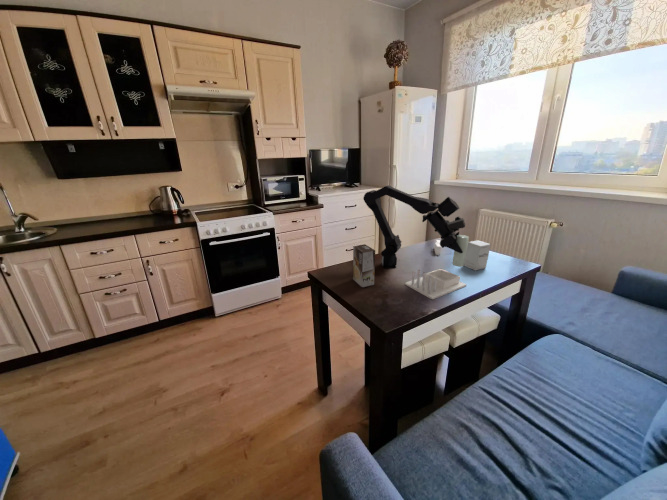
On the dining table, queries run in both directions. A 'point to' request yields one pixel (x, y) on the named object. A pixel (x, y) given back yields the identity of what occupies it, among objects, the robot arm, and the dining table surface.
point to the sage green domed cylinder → (462, 250)
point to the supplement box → (477, 255)
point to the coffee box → (363, 265)
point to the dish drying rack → (435, 283)
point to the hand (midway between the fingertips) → (462, 250)
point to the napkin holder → (437, 247)
